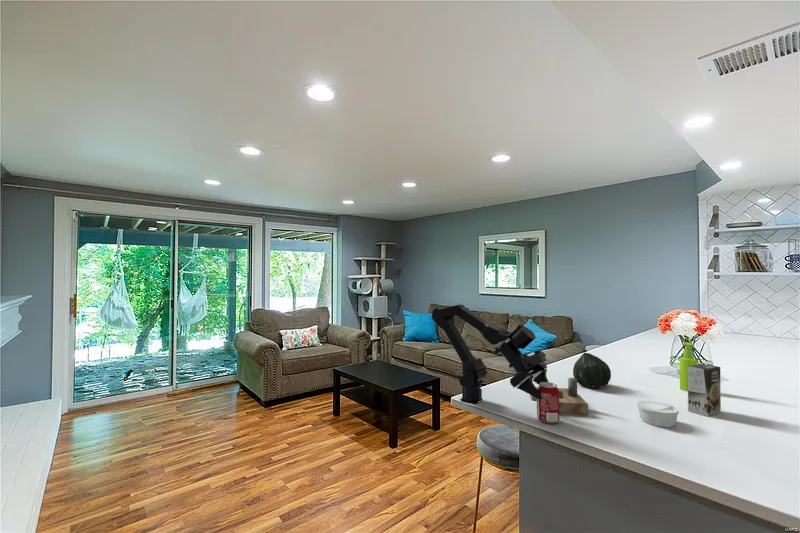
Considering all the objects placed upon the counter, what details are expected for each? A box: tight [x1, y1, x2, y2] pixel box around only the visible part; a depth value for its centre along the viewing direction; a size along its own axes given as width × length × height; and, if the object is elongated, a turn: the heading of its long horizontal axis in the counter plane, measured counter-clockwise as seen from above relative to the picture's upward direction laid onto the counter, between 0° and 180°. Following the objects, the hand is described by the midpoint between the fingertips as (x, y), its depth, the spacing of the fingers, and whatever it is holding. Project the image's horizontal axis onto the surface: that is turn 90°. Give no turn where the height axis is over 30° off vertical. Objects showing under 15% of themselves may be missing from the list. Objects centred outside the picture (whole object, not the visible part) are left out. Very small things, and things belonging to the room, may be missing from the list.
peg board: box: [529, 377, 589, 417], centre depth 138 cm, size 16×17×10 cm
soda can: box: [536, 381, 560, 425], centre depth 123 cm, size 7×7×12 cm
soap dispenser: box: [679, 341, 698, 392], centre depth 158 cm, size 6×7×20 cm
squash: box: [572, 352, 612, 389], centre depth 163 cm, size 14×15×15 cm
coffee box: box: [687, 363, 722, 417], centre depth 133 cm, size 9×6×16 cm
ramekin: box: [636, 400, 680, 428], centre depth 123 cm, size 11×11×5 cm
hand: (546, 395), depth 124 cm, fingers open, 9 cm apart
